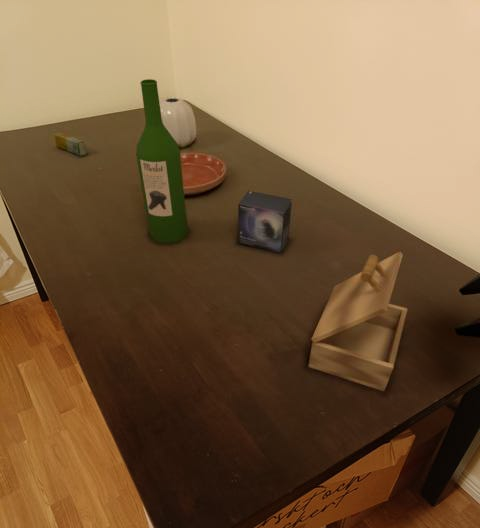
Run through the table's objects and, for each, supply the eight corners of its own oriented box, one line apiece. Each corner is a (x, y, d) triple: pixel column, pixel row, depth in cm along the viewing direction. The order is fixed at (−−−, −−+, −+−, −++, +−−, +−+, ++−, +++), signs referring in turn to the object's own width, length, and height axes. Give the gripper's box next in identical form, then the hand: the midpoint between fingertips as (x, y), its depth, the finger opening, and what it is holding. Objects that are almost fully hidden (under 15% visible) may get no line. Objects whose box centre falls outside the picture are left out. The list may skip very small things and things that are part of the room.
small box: (236, 244, 98) (236, 202, 91) (247, 230, 102) (247, 189, 95) (280, 254, 95) (284, 212, 88) (289, 239, 99) (293, 198, 92)
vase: (162, 155, 134) (156, 109, 124) (151, 139, 143) (144, 95, 134) (203, 148, 138) (201, 103, 128) (190, 133, 147) (186, 90, 138)
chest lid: (403, 254, 68) (385, 233, 66) (386, 312, 58) (365, 288, 57) (337, 289, 77) (321, 270, 76) (314, 343, 67) (295, 323, 66)
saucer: (139, 169, 126) (137, 157, 124) (214, 159, 131) (213, 147, 129) (152, 206, 111) (150, 193, 108) (236, 193, 116) (236, 180, 113)
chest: (399, 331, 78) (407, 308, 74) (384, 391, 68) (393, 368, 64) (331, 312, 81) (335, 289, 77) (308, 367, 72) (312, 343, 68)
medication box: (87, 154, 134) (85, 141, 132) (80, 156, 133) (78, 143, 130) (62, 144, 139) (60, 131, 137) (55, 146, 137) (53, 133, 135)
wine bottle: (146, 243, 98) (118, 88, 76) (153, 222, 105) (130, 74, 82) (185, 244, 98) (168, 89, 76) (190, 223, 105) (176, 74, 82)
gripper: (552, 180, 55) (435, 236, 66) (566, 258, 42) (419, 311, 53) (590, 245, 58) (472, 288, 69) (613, 336, 45) (465, 371, 56)
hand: (458, 311), depth 62 cm, fingers open, 9 cm apart
